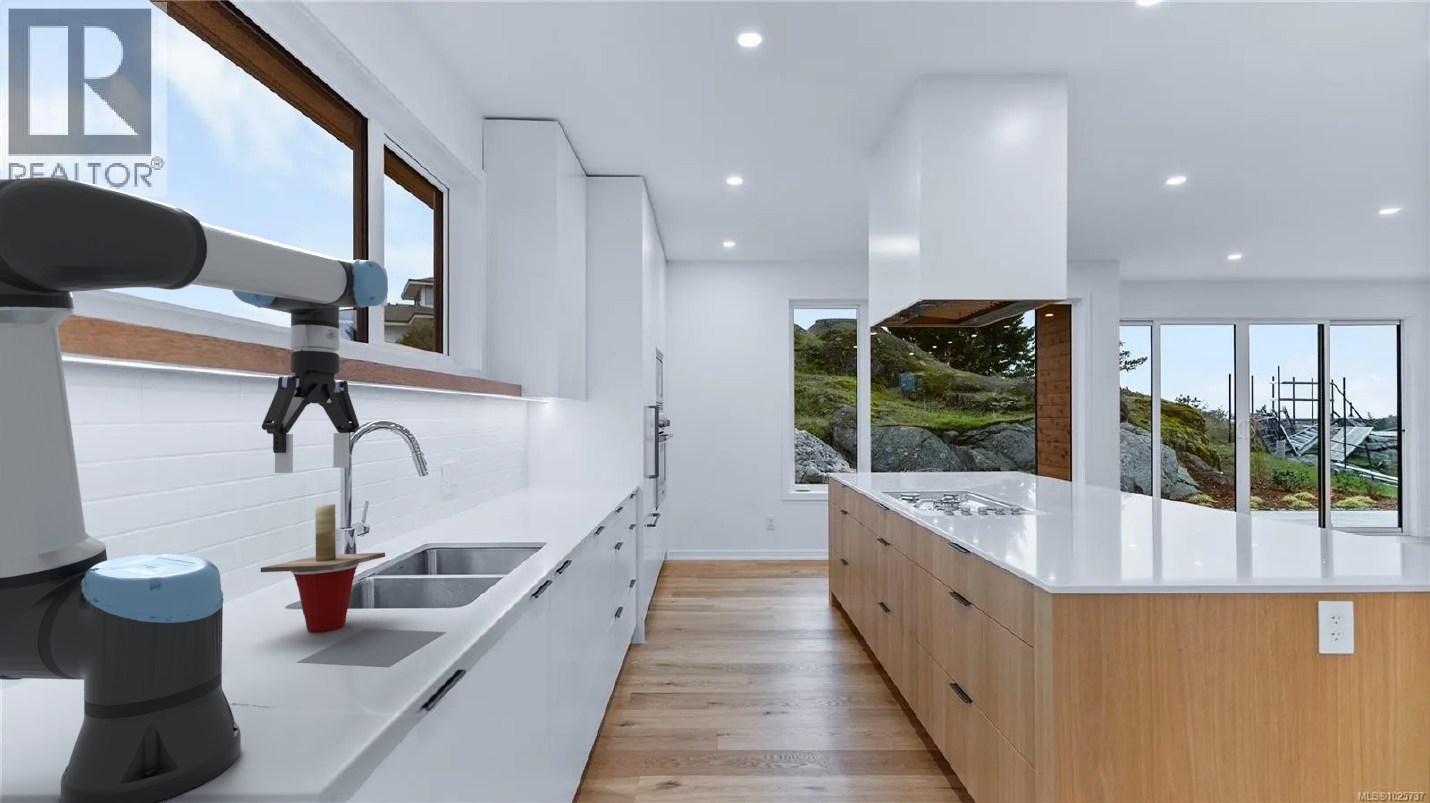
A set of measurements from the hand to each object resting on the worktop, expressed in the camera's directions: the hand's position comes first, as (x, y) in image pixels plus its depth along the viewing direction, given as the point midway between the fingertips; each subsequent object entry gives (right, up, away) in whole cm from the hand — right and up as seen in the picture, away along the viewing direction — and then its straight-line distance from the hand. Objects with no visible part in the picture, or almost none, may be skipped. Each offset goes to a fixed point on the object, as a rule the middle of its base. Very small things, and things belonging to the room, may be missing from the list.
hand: (314, 470), depth 117 cm
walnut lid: (0, -18, +4) cm, 18 cm away
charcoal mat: (+15, -29, -7) cm, 33 cm away
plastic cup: (0, -30, +4) cm, 30 cm away
